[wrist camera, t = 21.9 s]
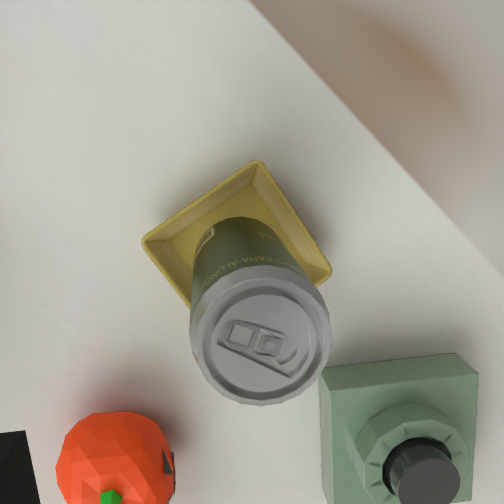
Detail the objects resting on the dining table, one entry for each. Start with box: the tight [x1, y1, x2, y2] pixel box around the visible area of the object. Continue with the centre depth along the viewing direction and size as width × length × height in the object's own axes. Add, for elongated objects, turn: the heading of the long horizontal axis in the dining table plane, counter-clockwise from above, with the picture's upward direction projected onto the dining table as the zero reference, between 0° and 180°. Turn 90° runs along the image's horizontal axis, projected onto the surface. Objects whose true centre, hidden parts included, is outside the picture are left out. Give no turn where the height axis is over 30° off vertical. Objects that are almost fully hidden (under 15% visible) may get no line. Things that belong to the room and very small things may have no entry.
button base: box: [319, 353, 478, 504], centre depth 33 cm, size 10×10×5 cm
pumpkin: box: [56, 411, 176, 504], centre depth 30 cm, size 7×8×6 cm
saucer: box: [141, 160, 332, 310], centre depth 30 cm, size 9×9×2 cm
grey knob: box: [385, 437, 460, 504], centre depth 30 cm, size 4×4×2 cm
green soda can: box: [189, 216, 332, 406], centre depth 23 cm, size 5×5×12 cm
